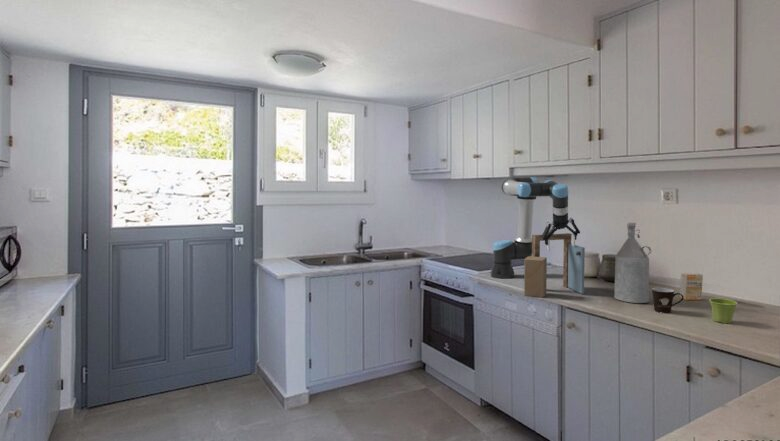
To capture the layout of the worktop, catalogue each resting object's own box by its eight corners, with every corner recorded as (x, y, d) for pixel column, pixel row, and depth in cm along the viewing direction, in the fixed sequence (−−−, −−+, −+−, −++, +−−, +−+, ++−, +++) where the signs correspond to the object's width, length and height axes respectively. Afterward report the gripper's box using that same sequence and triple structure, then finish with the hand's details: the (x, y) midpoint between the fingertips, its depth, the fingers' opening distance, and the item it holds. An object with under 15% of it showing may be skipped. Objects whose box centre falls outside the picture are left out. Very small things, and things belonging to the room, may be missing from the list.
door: (564, 287, 245) (565, 243, 244) (569, 286, 246) (570, 243, 244) (578, 294, 229) (579, 247, 227) (583, 293, 229) (584, 247, 227)
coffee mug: (649, 311, 197) (649, 290, 197) (654, 307, 203) (654, 286, 203) (678, 316, 189) (679, 294, 188) (683, 312, 195) (684, 290, 194)
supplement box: (685, 300, 215) (686, 274, 214) (679, 298, 219) (680, 272, 218) (702, 300, 214) (703, 274, 213) (695, 297, 219) (696, 272, 218)
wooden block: (524, 295, 230) (524, 258, 228) (527, 291, 238) (527, 256, 237) (543, 297, 225) (544, 260, 223) (546, 293, 234) (546, 257, 232)
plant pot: (741, 325, 176) (742, 304, 175) (716, 324, 177) (717, 304, 177) (728, 318, 185) (728, 298, 184) (703, 317, 187) (704, 298, 186)
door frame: (531, 289, 244) (532, 235, 242) (567, 286, 250) (568, 233, 247) (534, 290, 241) (535, 235, 239) (571, 287, 247) (571, 233, 244)
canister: (641, 306, 206) (643, 224, 203) (608, 298, 221) (609, 221, 218) (656, 302, 212) (659, 222, 209) (623, 295, 227) (625, 220, 224)
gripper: (539, 220, 224) (540, 254, 233) (587, 211, 223) (586, 246, 232) (534, 214, 230) (535, 248, 239) (580, 205, 230) (580, 239, 239)
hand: (560, 247), depth 236 cm, fingers open, 13 cm apart
